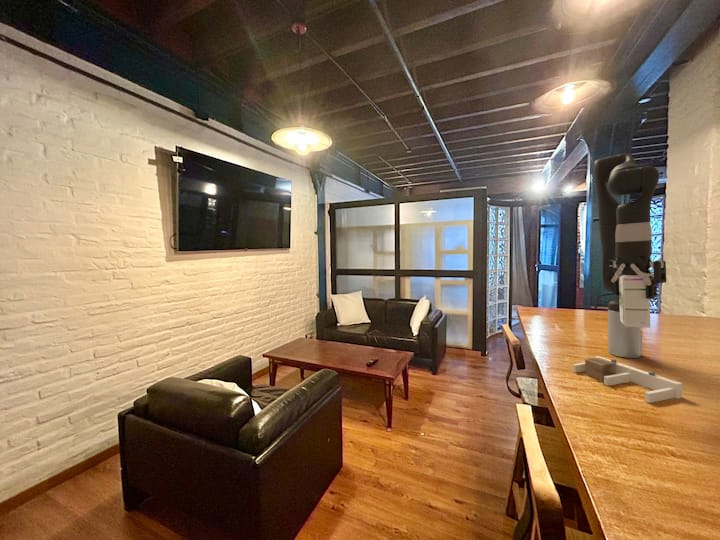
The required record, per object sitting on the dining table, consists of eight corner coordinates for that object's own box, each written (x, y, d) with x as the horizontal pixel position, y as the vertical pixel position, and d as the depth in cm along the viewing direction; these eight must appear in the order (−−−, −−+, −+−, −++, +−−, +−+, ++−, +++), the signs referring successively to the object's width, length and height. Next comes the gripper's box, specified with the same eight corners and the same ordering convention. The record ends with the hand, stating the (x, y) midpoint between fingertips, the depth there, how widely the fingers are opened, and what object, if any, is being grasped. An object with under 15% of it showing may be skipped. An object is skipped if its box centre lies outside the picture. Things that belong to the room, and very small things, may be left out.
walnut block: (598, 371, 100) (598, 357, 100) (615, 378, 94) (615, 363, 94) (585, 374, 99) (585, 359, 98) (601, 380, 93) (601, 365, 93)
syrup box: (651, 328, 81) (650, 275, 80) (622, 326, 84) (622, 275, 83) (645, 323, 86) (644, 273, 85) (618, 321, 89) (617, 274, 88)
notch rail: (598, 367, 103) (598, 353, 103) (682, 397, 81) (682, 380, 81) (572, 371, 101) (572, 357, 101) (651, 403, 79) (651, 386, 79)
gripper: (674, 237, 77) (674, 299, 78) (616, 240, 91) (617, 292, 92) (652, 238, 76) (652, 301, 77) (597, 241, 90) (598, 294, 91)
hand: (633, 296), depth 84 cm, fingers closed on syrup box, 8 cm apart
